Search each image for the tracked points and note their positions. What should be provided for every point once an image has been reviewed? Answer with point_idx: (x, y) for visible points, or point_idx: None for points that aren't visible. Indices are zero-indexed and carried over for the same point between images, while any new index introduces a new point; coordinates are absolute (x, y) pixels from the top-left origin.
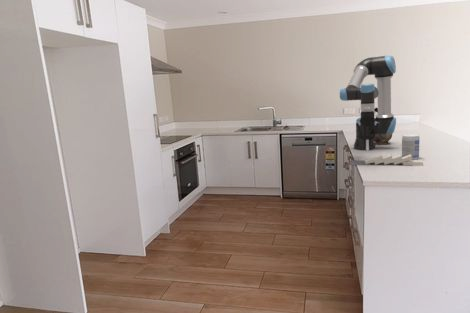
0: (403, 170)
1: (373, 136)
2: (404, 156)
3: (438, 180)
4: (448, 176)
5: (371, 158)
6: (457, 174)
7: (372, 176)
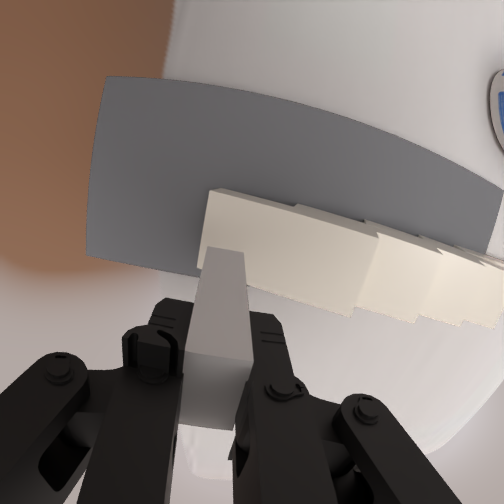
0: (383, 382)
1: (339, 492)
2: (488, 267)
3: None
4: (448, 422)
5: (264, 235)
6: (479, 399)
7: (216, 453)
